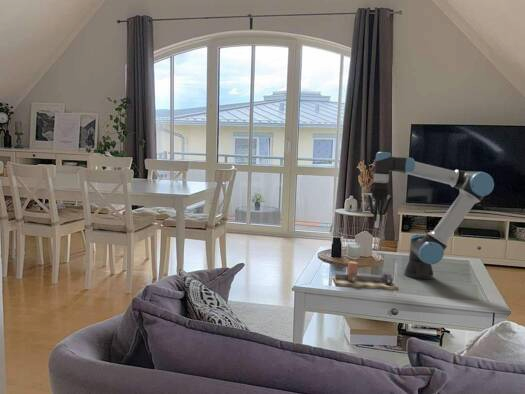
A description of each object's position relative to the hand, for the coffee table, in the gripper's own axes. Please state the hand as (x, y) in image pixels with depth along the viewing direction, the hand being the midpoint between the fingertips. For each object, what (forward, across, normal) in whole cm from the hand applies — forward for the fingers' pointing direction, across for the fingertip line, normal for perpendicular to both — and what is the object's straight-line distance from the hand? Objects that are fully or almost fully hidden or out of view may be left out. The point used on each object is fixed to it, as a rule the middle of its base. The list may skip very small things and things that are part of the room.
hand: (376, 227), depth 251 cm
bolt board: (+26, +7, +15) cm, 31 cm away
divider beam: (+26, +7, +15) cm, 31 cm away
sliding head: (+25, +13, +14) cm, 31 cm away
